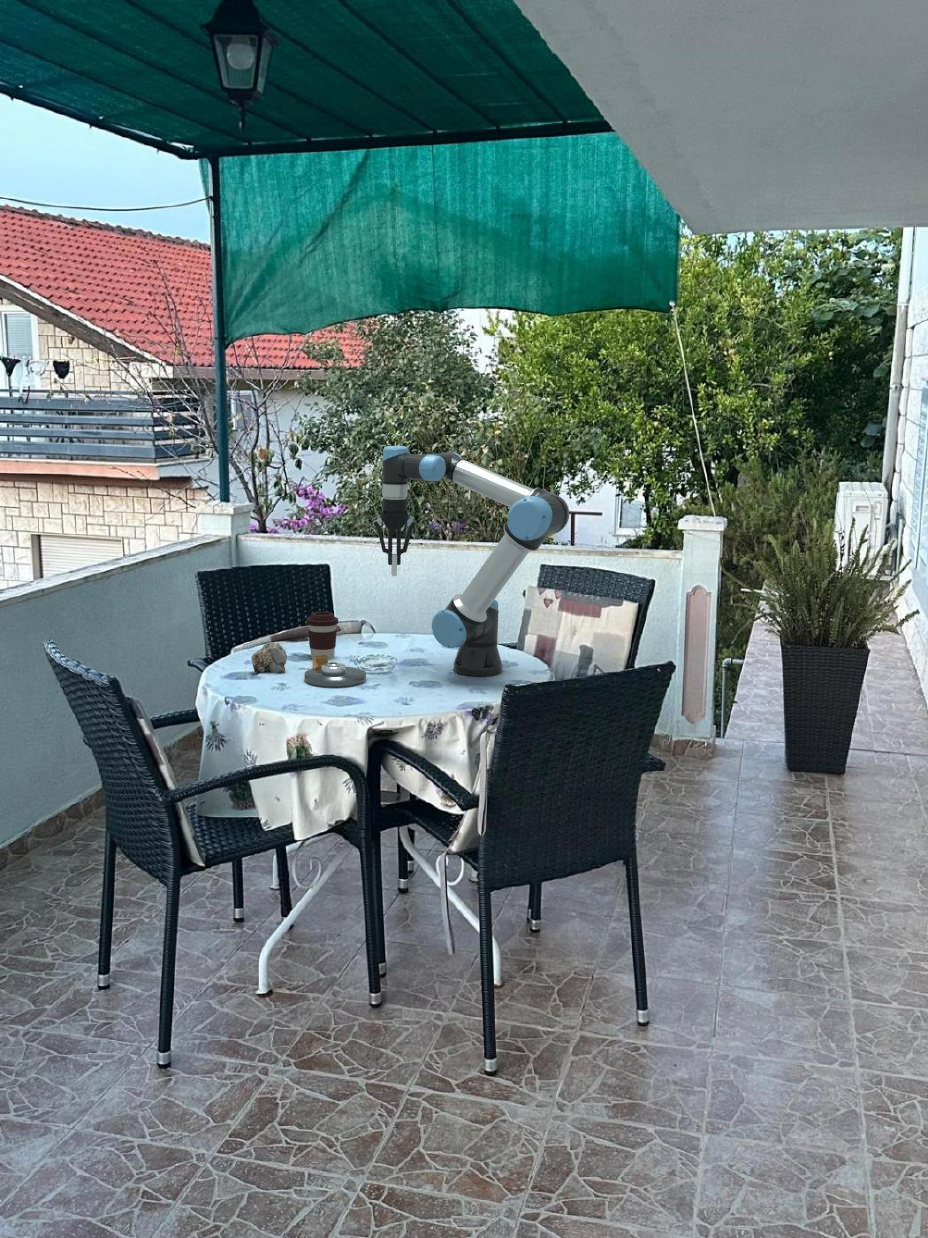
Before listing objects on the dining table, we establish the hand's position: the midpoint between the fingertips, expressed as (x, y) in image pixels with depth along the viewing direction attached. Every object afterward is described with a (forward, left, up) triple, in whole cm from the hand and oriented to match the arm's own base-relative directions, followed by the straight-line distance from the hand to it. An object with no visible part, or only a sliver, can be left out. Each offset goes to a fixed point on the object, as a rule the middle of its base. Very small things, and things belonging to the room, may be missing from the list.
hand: (394, 575), depth 354 cm
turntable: (+11, +21, -29) cm, 37 cm away
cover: (+10, +22, -27) cm, 36 cm away
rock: (+33, +18, -30) cm, 48 cm away
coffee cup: (+25, -3, -30) cm, 39 cm away
